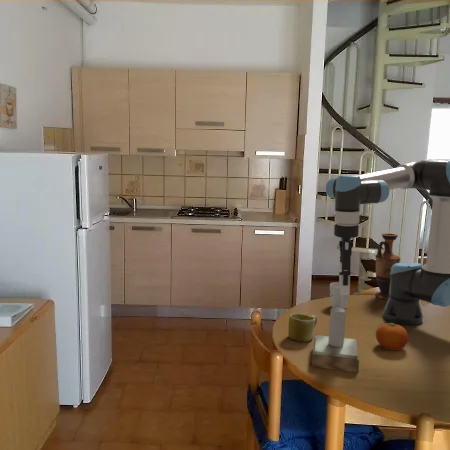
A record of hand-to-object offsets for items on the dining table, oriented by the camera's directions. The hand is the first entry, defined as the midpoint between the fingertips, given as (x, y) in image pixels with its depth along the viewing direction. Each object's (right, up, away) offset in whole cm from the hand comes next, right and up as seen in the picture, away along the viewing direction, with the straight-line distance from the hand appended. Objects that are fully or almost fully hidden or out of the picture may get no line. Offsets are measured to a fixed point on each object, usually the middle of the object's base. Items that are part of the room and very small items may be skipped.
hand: (343, 288), depth 147 cm
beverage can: (-3, -18, -1) cm, 19 cm away
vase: (+37, -13, +66) cm, 76 cm away
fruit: (+19, -22, +10) cm, 31 cm away
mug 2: (+11, -16, +49) cm, 53 cm away
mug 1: (-10, -20, +18) cm, 29 cm away
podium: (-3, -23, 0) cm, 23 cm away
